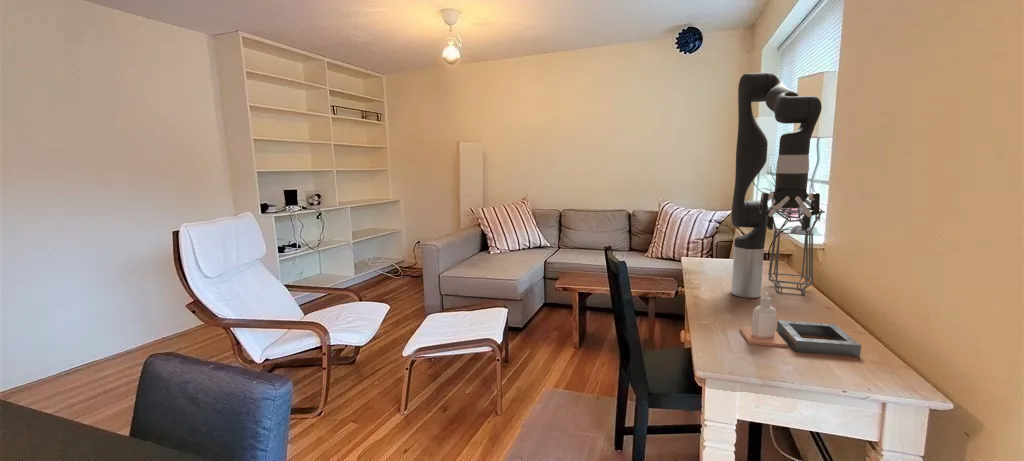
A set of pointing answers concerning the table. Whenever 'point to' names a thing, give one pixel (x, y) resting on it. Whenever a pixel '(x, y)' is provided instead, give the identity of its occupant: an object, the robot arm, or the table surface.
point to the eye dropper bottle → (764, 319)
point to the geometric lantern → (803, 254)
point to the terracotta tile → (763, 339)
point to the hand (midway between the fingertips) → (786, 229)
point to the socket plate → (836, 346)
